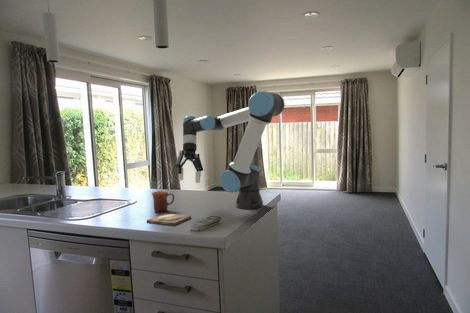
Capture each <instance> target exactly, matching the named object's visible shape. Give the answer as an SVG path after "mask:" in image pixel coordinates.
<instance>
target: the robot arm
mask: <svg viewBox="0 0 470 313" xmlns="http://www.w3.org/2000/svg"><path fill="white" fill-rule="evenodd" d="M285 106H286V105H285V100H284V98H283V96H281V95H280V94H278V93H277V92H276V93H275V92H270V91H267V90H261V91H256V92H255V93H253V94H252V95H251V96H250V98H249V99H248V104H247V106H246V107H244V108H240V109H237V110H234V111H231V112H227V113H224V114H222V115H220V116H219V115H218V116H212V115H210V114H209V115H203V116H201V117H196V116H193V115H186V116H184V117H183V119H182V120H183V122H182V142H183V144H182V150H181V149H180V150H179V152H178V156H177V159H176V162H175V164H174V165H175V167H176V169H177V173H178V174H177V175H178V181H184V167H183V166H184V165H185V163H186V162H187V161H190V162H191V163H192V165H193V166H194V169H195V170H196V171H195V183H196V184H197V183H198V184H200V183H201V175H202V174H201V172H202V171H204V168H203V164H202V162H201V158H200V153H196V152H197V145H198V144H197V143H198V142H197V141H198V140H197V134H198V133H199V132H204V131H223V130H226V128H230V127H233V126H236V125H240V124H243V123H247V122H248V123H247V124H246V128H245V130H244V134H243V136H242V139H241V141H240V143H239V146H238V149H237V151H236V153H235V154H236V155H235V157H234V160H233V161H231V162H230V163H229V164H228V167H227V169H226V170H225V171H223V172H222V173H221V175H220V178H219V180H220V184H221V187H222V188H223V189H224V191H226V192H227V193H230V194H232V193H238V194H237V196H236V201H235V207H236V208H238V209H243V210H251V209H259V208H260V209H261V208H262V207H263V206H264V201H263V198H262V195H261V192H260V169H259V166H258V165H253V164H252V161H253V158H254V156H255V154H256V152H257V148H258V146H259V144H260V141H261V139H262V136H263V133H264V131H265V128H266V127H267V125H269V124H271V121H272V119H273V117H277V116H279V115H280V114H282V113H283V111H284V109H285Z"/></svg>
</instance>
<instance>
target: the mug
mask: <svg viewBox="0 0 470 313" xmlns="http://www.w3.org/2000/svg"><path fill="white" fill-rule="evenodd" d="M151 196H152V199H153V210H154V212H155V213H165V212H167V211H168V209H169V208H168V206H170V205H172V204H173V203H174V201H175V194H174V193H172V192H169V191H165V190H159V191H153V192H151ZM168 196H172V200H171V201H170V202H168Z"/></svg>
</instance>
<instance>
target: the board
mask: <svg viewBox="0 0 470 313" xmlns="http://www.w3.org/2000/svg"><path fill="white" fill-rule="evenodd" d="M190 219H192V215H188V214H187V215H186V214H177V213H165V212H163V213H161V214H159V215H157V216H155V217H151V218H148V219H147V220H146V223H147V222H148V223H147V224H154V223H157V224H156V225H163V224H165V225H164V226H173V227H174V226H177V225H179V224H181V223H184V222H186V221H188V220H190Z"/></svg>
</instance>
